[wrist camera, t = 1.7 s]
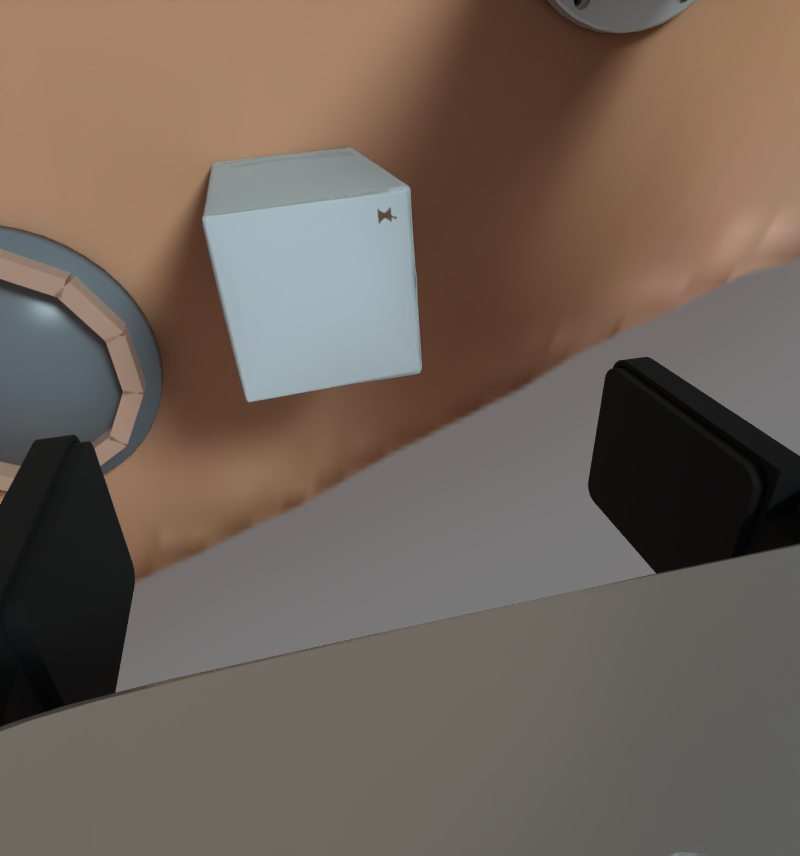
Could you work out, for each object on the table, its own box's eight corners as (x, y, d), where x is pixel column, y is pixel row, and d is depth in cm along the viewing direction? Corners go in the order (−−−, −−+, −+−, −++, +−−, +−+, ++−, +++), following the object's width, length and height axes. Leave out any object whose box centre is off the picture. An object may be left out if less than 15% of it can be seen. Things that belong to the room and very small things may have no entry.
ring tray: (117, 206, 30) (109, 215, 28) (191, 456, 38) (188, 476, 36) (-229, 244, 28) (-261, 256, 26) (-74, 503, 35) (-90, 527, 33)
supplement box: (208, 159, 30) (195, 207, 19) (354, 144, 31) (418, 181, 21) (238, 302, 34) (242, 407, 23) (368, 284, 35) (427, 376, 25)
